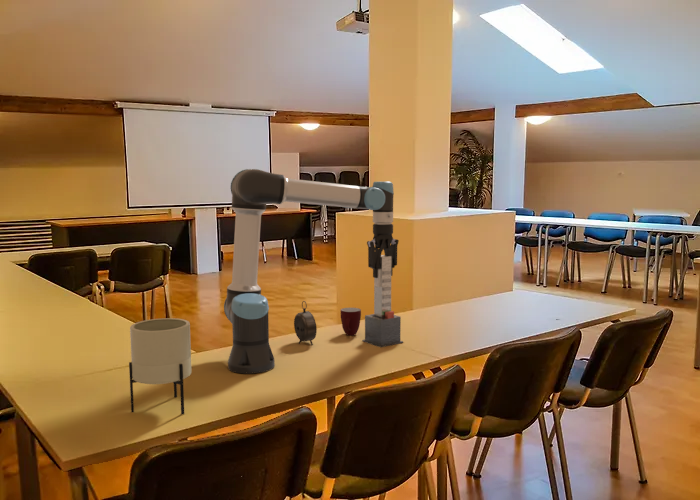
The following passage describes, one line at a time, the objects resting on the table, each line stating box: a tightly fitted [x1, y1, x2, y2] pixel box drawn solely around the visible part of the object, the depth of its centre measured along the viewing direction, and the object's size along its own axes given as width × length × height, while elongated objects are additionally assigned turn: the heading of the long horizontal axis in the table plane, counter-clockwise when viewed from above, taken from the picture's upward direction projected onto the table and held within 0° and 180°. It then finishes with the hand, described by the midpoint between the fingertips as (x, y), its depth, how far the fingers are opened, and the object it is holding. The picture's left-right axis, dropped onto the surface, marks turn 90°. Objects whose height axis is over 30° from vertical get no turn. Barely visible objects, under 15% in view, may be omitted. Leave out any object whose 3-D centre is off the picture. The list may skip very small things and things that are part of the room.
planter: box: [128, 317, 192, 415], centre depth 164 cm, size 15×16×23 cm
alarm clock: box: [293, 300, 318, 346], centre depth 229 cm, size 11×5×16 cm, turn 31°
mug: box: [340, 307, 362, 337], centre depth 241 cm, size 10×8×10 cm
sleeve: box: [361, 310, 404, 348], centre depth 230 cm, size 11×11×12 cm
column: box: [373, 254, 392, 319], centre depth 228 cm, size 4×5×24 cm
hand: (382, 285), depth 229 cm, fingers closed on column, 4 cm apart
